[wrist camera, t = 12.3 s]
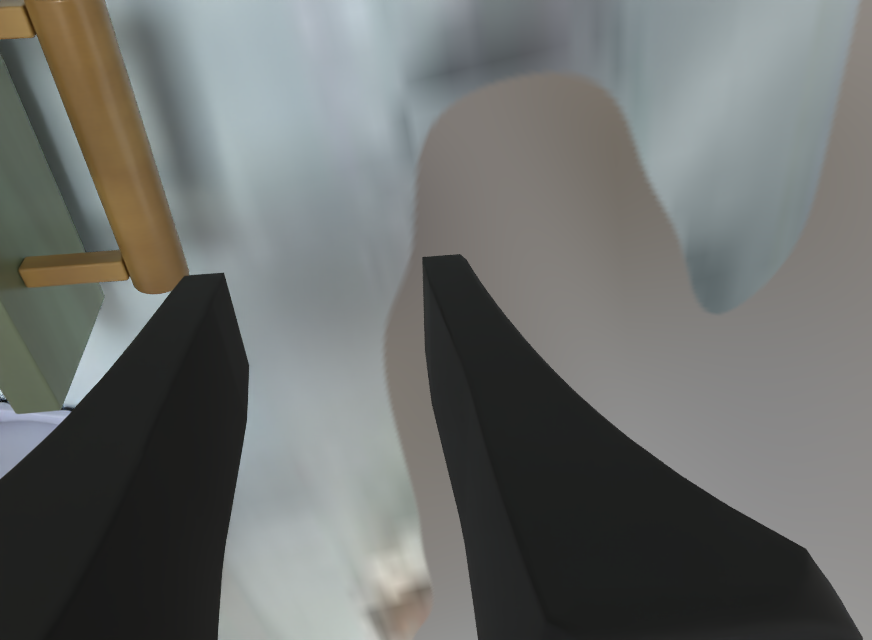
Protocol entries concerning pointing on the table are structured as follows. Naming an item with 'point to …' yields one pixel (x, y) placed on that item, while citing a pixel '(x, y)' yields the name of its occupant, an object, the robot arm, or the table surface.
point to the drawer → (48, 215)
